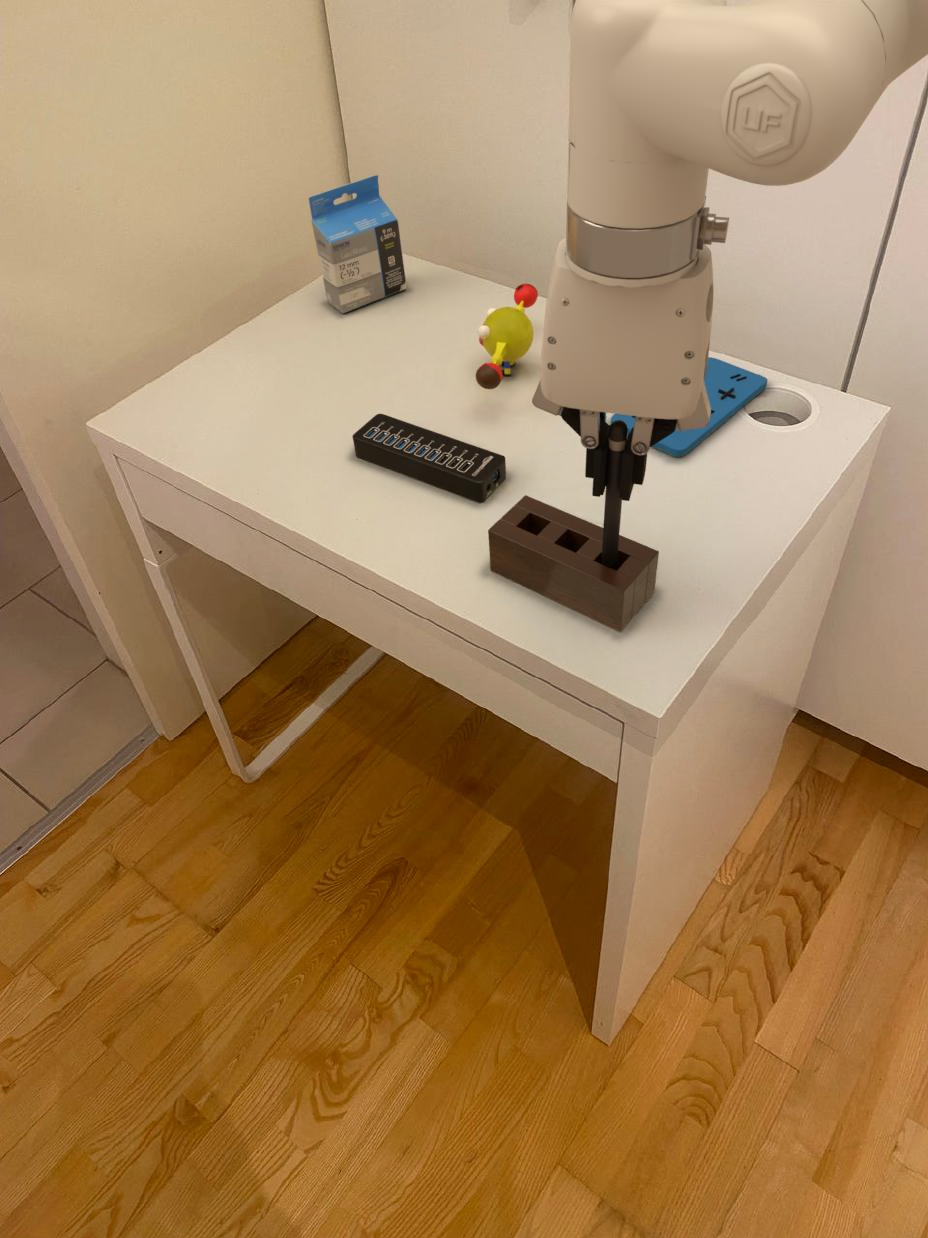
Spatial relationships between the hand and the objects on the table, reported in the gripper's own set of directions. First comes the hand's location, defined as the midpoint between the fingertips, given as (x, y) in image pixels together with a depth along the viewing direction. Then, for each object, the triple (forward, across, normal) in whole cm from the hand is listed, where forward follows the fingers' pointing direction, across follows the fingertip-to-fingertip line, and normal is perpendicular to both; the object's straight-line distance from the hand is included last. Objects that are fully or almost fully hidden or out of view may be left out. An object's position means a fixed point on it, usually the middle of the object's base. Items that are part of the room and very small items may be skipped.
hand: (614, 485), depth 67 cm
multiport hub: (+12, +19, -13) cm, 26 cm away
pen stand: (+12, +3, -1) cm, 12 cm away
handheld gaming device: (+12, -3, -27) cm, 30 cm away
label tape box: (+12, +36, -42) cm, 57 cm away
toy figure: (+12, +16, -30) cm, 36 cm away
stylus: (+8, 0, 0) cm, 8 cm away
